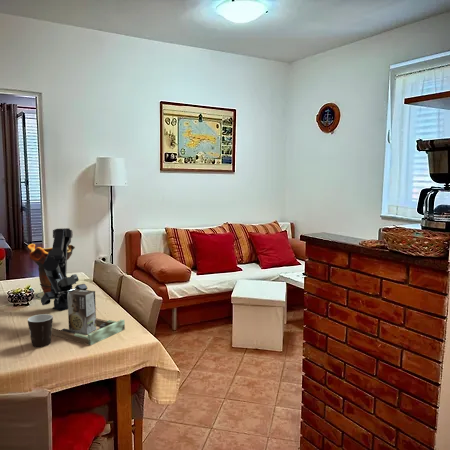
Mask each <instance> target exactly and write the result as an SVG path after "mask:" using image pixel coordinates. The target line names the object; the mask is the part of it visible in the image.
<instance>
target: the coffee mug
mask: <svg viewBox="0 0 450 450" xmlns="http://www.w3.org/2000/svg"><path fill="white" fill-rule="evenodd" d="M26 321H27V324H28V325H27V326H28V331H29V336H30V341H31V346H32V347H33V348H44V347H47V346H49V345H51V343H52V335H51V334H52V328H53V322H54V316H53V315H52V314H48V313H45V314H44V313H43V314H41V313H40V314H35V315H32V316H29V317H28V318H27V320H26Z"/></svg>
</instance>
